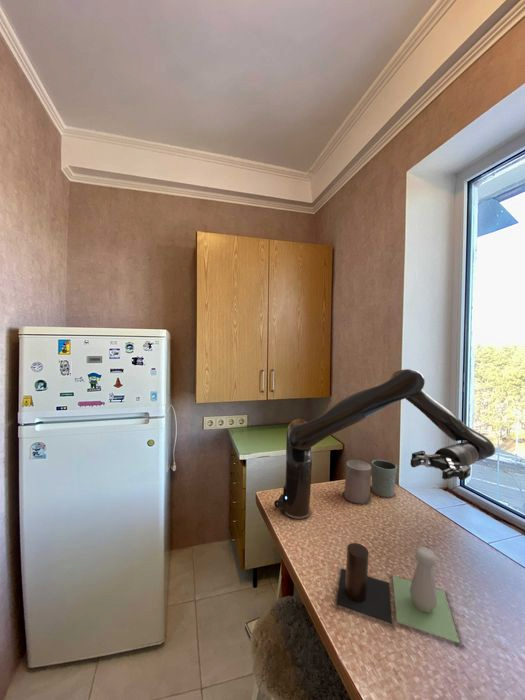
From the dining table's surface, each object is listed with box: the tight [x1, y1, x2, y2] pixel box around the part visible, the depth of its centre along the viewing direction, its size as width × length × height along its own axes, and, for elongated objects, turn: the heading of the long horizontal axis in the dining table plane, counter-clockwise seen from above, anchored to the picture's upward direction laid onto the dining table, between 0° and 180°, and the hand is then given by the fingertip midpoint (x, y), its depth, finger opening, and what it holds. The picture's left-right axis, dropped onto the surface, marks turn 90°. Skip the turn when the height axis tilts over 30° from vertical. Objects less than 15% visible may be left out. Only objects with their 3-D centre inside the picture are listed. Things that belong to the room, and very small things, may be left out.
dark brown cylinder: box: [345, 542, 370, 603], centre depth 72 cm, size 5×5×11 cm
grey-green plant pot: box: [370, 459, 398, 498], centre depth 125 cm, size 10×10×12 cm
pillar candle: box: [343, 459, 372, 505], centre depth 119 cm, size 10×10×15 cm
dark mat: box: [336, 568, 393, 625], centre depth 73 cm, size 12×12×1 cm
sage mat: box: [392, 575, 460, 646], centre depth 70 cm, size 12×14×1 cm
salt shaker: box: [410, 546, 438, 613], centre depth 70 cm, size 6×6×13 cm
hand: (427, 469), depth 82 cm, fingers open, 8 cm apart
